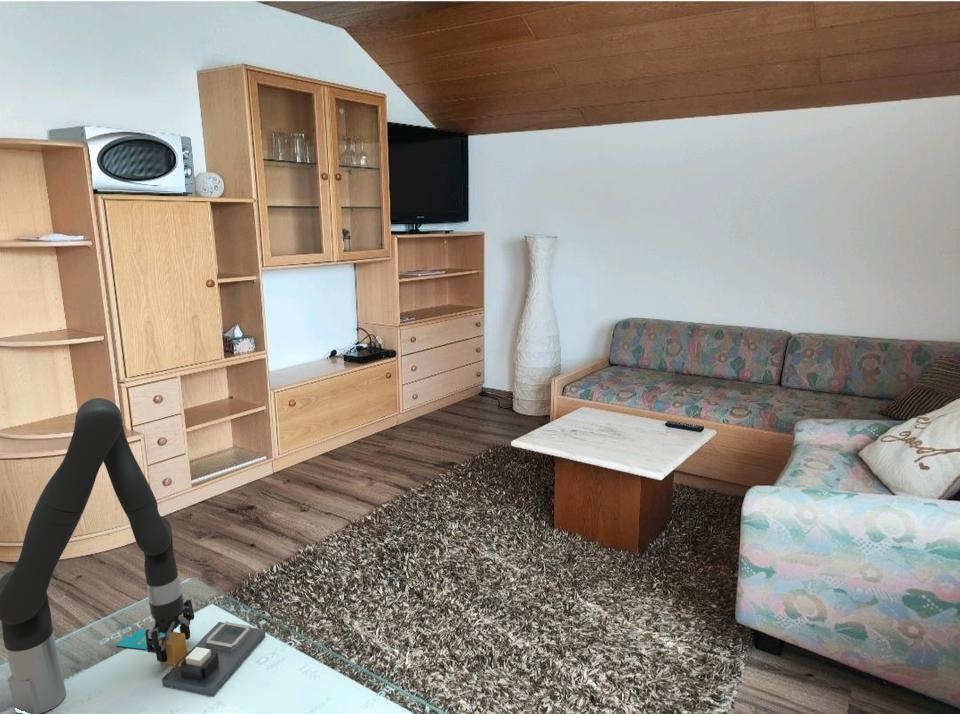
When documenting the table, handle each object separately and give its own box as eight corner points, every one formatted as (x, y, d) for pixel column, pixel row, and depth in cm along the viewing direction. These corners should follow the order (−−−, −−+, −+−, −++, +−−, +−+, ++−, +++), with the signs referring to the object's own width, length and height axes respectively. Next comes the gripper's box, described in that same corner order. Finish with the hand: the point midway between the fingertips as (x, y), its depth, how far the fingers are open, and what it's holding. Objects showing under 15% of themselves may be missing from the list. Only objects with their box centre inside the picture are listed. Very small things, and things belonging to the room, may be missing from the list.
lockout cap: (175, 665, 166) (172, 645, 165) (160, 662, 167) (157, 642, 166) (187, 653, 171) (184, 633, 169) (173, 650, 172) (169, 630, 170)
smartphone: (133, 627, 180) (183, 633, 177) (133, 630, 180) (183, 636, 178) (114, 645, 173) (166, 652, 171) (115, 648, 173) (166, 654, 171)
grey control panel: (213, 696, 156) (210, 678, 155) (162, 685, 160) (160, 668, 158) (265, 636, 177) (263, 620, 175) (219, 628, 180) (217, 612, 179)
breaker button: (201, 674, 159) (199, 660, 158) (187, 671, 160) (185, 657, 159) (212, 663, 163) (210, 649, 162) (198, 660, 164) (196, 646, 163)
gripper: (172, 576, 172) (181, 629, 176) (131, 610, 159) (142, 667, 163) (196, 579, 170) (205, 633, 174) (157, 614, 157) (167, 672, 161)
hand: (174, 649), depth 169 cm, fingers open, 8 cm apart
